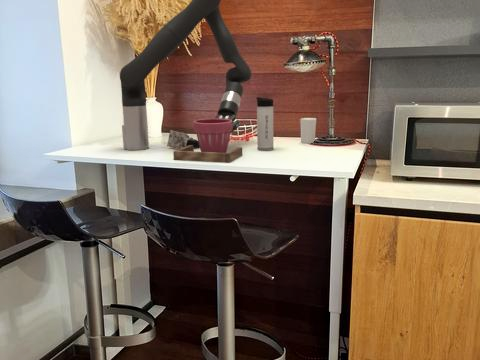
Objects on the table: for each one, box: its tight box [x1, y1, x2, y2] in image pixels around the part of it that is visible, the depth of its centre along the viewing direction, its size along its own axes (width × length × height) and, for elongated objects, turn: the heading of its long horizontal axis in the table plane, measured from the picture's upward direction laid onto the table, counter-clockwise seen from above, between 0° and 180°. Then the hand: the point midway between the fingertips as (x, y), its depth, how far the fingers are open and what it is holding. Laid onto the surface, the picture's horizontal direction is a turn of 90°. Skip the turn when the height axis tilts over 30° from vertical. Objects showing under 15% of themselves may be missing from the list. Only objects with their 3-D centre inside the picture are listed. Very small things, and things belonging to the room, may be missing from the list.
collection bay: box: [172, 145, 243, 164], centre depth 162 cm, size 21×14×3 cm, turn 71°
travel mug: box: [255, 96, 274, 152], centre depth 174 cm, size 6×7×20 cm
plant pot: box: [193, 117, 233, 153], centre depth 165 cm, size 14×14×13 cm
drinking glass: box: [299, 117, 317, 145], centre depth 189 cm, size 7×7×10 cm
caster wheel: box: [166, 129, 200, 150], centre depth 183 cm, size 7×11×10 cm
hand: (219, 141), depth 171 cm, fingers closed
